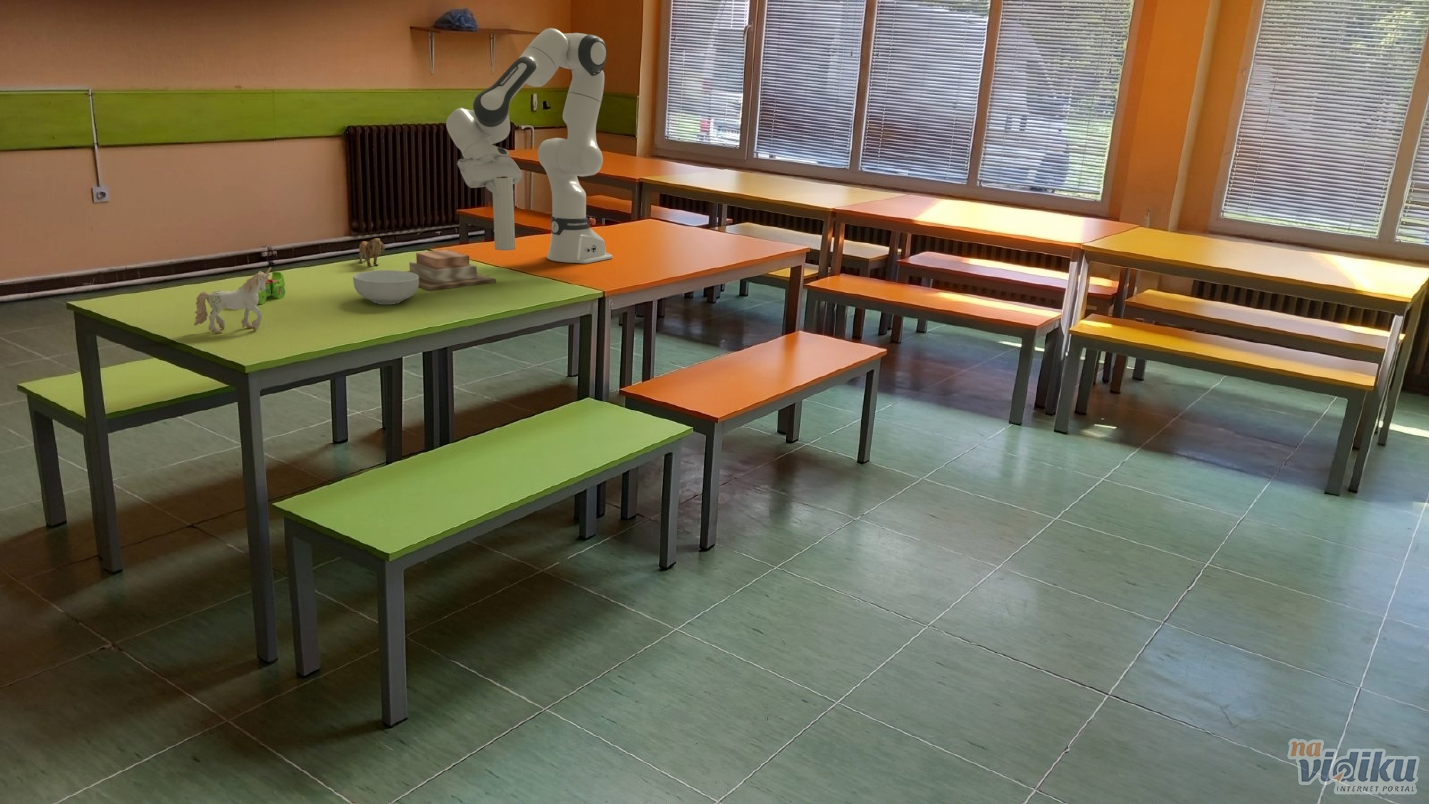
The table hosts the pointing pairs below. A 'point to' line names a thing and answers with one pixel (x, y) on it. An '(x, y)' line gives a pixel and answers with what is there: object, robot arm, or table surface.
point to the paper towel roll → (504, 214)
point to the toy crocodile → (272, 288)
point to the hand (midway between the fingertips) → (505, 195)
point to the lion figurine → (371, 250)
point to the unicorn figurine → (233, 303)
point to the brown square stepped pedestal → (446, 270)
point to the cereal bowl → (386, 285)
